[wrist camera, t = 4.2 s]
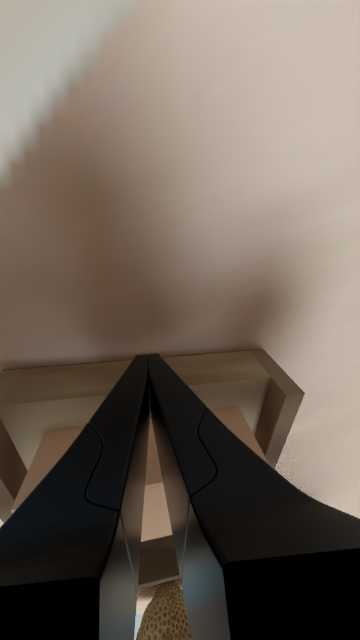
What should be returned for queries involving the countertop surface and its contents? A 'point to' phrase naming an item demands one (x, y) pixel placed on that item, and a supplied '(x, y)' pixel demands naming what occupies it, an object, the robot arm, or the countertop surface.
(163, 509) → the block
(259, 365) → the trap lane
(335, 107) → the countertop surface
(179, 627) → the natural sponge
